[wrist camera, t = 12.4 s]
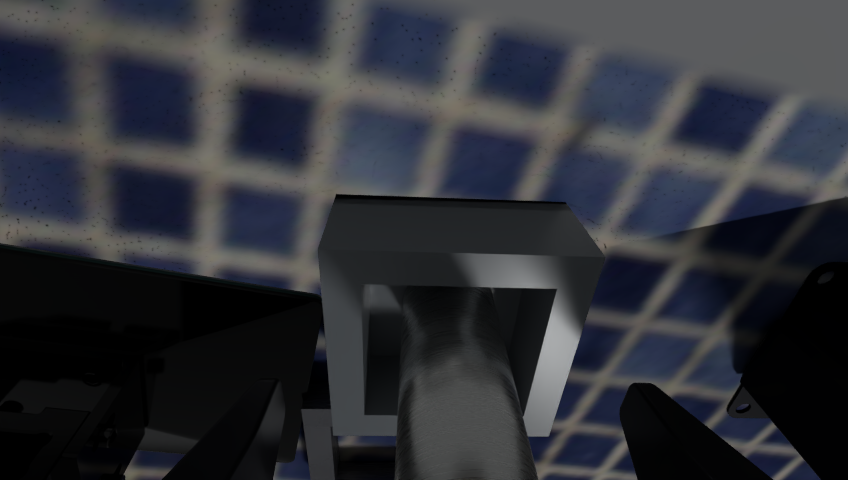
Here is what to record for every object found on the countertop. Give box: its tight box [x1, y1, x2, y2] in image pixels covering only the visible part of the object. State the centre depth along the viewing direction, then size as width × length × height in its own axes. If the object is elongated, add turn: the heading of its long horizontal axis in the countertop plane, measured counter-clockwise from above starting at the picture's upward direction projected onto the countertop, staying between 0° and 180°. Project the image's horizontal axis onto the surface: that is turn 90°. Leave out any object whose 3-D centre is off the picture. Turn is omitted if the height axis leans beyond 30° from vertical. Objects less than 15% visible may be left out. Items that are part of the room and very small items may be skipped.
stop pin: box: [394, 285, 538, 480], centre depth 9 cm, size 3×3×7 cm
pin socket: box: [301, 382, 395, 480], centre depth 15 cm, size 5×5×1 cm
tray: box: [318, 194, 605, 436], centre depth 11 cm, size 6×6×2 cm
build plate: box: [0, 243, 323, 480], centre depth 10 cm, size 12×7×5 cm, turn 75°
